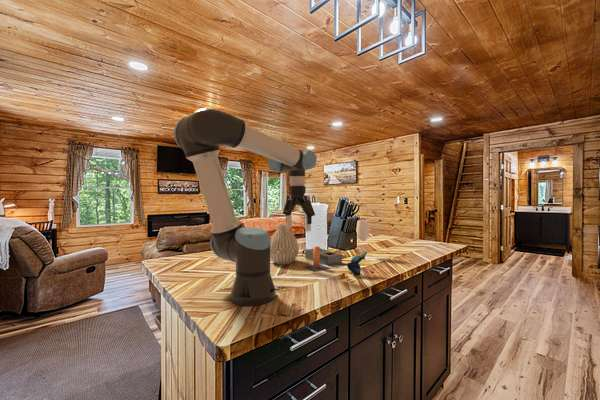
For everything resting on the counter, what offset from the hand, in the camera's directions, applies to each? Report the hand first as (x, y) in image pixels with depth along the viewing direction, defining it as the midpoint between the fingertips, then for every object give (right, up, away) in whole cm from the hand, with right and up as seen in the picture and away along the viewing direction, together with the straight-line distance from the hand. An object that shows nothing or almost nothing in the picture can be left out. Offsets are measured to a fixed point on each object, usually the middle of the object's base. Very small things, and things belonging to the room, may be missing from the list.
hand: (298, 229), depth 124 cm
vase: (-8, -19, +11) cm, 23 cm away
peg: (+9, -18, 0) cm, 20 cm away
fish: (+26, -19, -10) cm, 34 cm away
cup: (+37, -18, +23) cm, 47 cm away
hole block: (+13, -18, +14) cm, 26 cm away
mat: (+9, -19, 0) cm, 20 cm away
